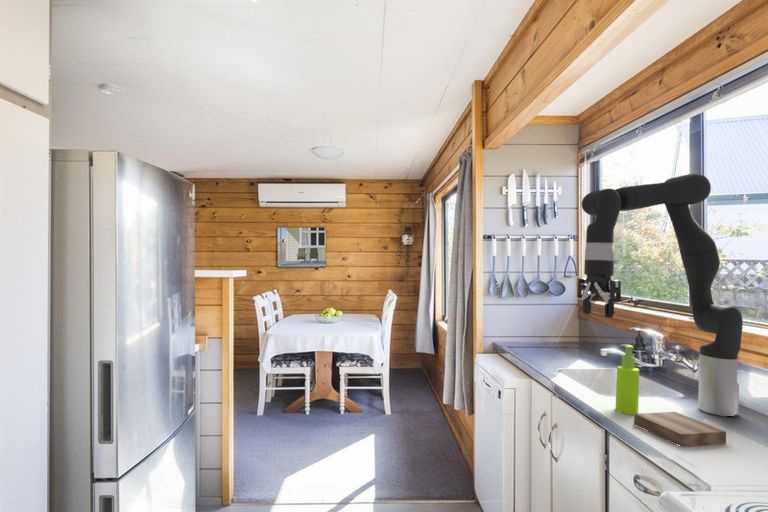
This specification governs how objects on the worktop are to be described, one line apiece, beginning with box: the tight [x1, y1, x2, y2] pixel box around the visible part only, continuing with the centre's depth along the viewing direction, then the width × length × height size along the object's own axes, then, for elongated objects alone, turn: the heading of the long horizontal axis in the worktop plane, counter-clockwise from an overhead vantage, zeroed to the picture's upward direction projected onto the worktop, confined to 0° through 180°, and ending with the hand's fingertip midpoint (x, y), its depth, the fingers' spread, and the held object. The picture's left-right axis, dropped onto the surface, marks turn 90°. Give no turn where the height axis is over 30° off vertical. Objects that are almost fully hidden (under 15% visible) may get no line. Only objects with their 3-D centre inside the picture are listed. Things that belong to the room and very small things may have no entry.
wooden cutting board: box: [633, 411, 727, 447], centre depth 109 cm, size 14×14×3 cm
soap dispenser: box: [615, 343, 640, 416], centre depth 126 cm, size 6×7×20 cm
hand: (597, 315), depth 119 cm, fingers open, 8 cm apart
